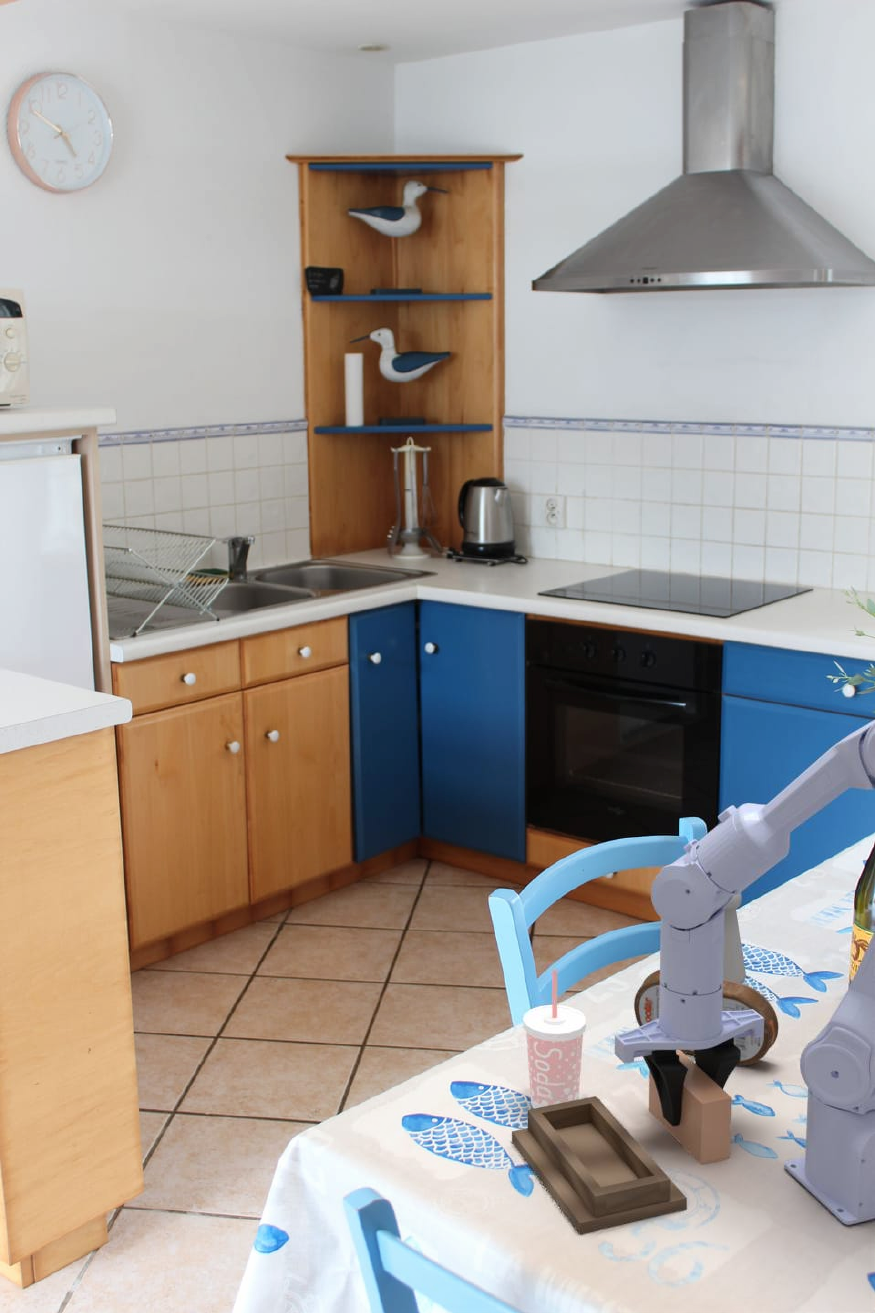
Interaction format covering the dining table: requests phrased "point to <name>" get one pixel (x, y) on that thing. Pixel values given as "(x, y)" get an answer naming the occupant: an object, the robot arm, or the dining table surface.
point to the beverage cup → (554, 1051)
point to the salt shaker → (733, 944)
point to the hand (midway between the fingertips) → (688, 1117)
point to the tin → (733, 1000)
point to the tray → (594, 1166)
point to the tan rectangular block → (698, 1114)
